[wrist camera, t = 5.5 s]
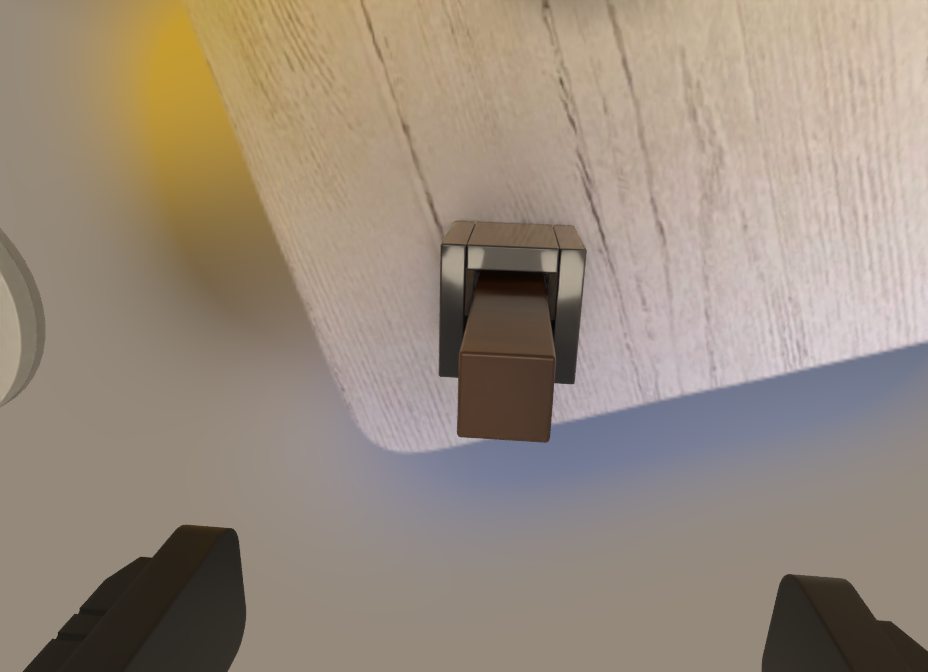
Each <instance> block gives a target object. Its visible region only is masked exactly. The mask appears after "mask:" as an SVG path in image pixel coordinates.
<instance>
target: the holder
mask: <svg viewBox="0 0 928 672" xmlns="http://www.w3.org/2000/svg"><path fill="white" fill-rule="evenodd" d="M585 262H586V249H585V246H584V244H583V242H582V240H581V238H580V236H579V234H578V232H577V230H576V228H575V226H570V225H544V224H518V223H493V222H476V223H475V222H468V221H455V222H454V223H453V225H452V227H451V228H450V230H449V232H448V233H447V235H446V237H445V238H444V240H443V242H442V243H441V252H440V321H439V376H440V377H456V378H458V376H459V352H460V348H461V345H462V341H463V337H464V333H465V329H466V325H467V321H468V317H469V313H470V309H471V305H472V301H473V290H474V270H486V271H508V272H530V273H550V275H549V288H548V308H549V315H550V322H551V328H552V335H553V342H554V349H555V355H556V367H555V379H554V383H559V384H574V383H575V373H576V362H577V351H578V340H579V329H580V318H581V307H582V296H583V285H584V273H585Z"/></svg>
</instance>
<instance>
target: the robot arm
mask: <svg viewBox="0 0 928 672" xmlns="http://www.w3.org/2000/svg"><path fill="white" fill-rule="evenodd" d="M241 567H242V566H241V557H240V549H239V540H238V536H237V533H236V531H235V530H234V529H232V528H220V527H208V526H195V525H182V526H180V527H179V528H177V529H176V530H175V531H174V533H173V534H172V535H171V536H170V538H169V539H168V540H167V541H166V542H165V544H164V545H163V546H162V547H161V548H160V549H159V550H158V552H157V553H156V554H155V555H154V556H153V558H149V557H140V558H138V559H136V560H135V561H133V562H132V563H130V564H129V565H127V566H126V567H124V568H122V569H121V570H119V571H118V572H117V573H115V574H113V575H112V576H110V577H109V578H107V579H106V580H105V581H104V582H103V583H102V584H101V585H100V586H99V587H98V588H97V590H96V591H95V592H94V593H93V594H92V595H91V596H90V597H89V599H88V600H87V601H86V602H85V603H84V604H83V605H82V606H81V607H80V611H79V613H78V614H74V615H73V616H72V617H71V618H70V620H69V621H68V622H67V623H66V624H65V625H64V626H63V627H62V628H61V630H60V631H59V632H58V636H57V638H56V639H52V640H51V641H50V642H49V643H48V644H47V645H46V646H45V647H44V648H43V650H42V651H41V652H40V653H39V654H38V655H37V656H36V657H35V658H34V660H33V661H32V662H31V663H30V664H29V665H28V666H27V667H26V669H25V670H24V671H23V672H227V671H228V669H229V668H230V666H231V664H232V662H233V660H234V658H235V656H236V654H237V652H238V650H239V647H240V644H241V641H242V637H243V633H244V629H245V622H246V604H245V595H244V585H243V577H242V568H241ZM762 672H928V651H926V650H925V649H924V648H923V647H922V646H920V645H919V644H918V643H917V642H915V641H914V640H913V639H912V638H911V637H909V636H908V635H907V634H906V633H904V632H903V631H902V630H901V629H899V628H898V627H897V626H896V625H894V624H893V623H892V622H891V621H879V620H876V618H875V617H874V616H873V614H872V613H871V611H870V610H869V608H868V607H867V606H866V604H865V603H864V601H863V600H862V599H861V597H860V596H859V594H858V593H857V591H856V590H855V588H854V587H853V586H852V585H851V583H849V582H848V581H847V580H845V579H841V578H829V577H817V576H804V575H792V574H788V575H785V576H784V577H783V578H782V580H781V582H780V585H779V589H778V593H777V597H776V601H775V606H774V610H773V614H772V619H771V623H770V627H769V631H768V636H767V641H766V645H765V649H764V653H763V658H762Z"/></svg>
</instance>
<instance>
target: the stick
mask: <svg viewBox="0 0 928 672" xmlns="http://www.w3.org/2000/svg"><path fill="white" fill-rule="evenodd" d="M555 367H556V355H555V349H554V342H553V335H552V328H551V322H550V315H549V308H548V301H547V294H546V288H545V281H544V274H543V273H530V272H508V271H486V270H480V273H479V277H478V281H477V285H476V289H475V293H474V297H473V301H472V305H471V309H470V313H469V317H468V321H467V325H466V329H465V333H464V337H463V341H462V345H461V348H460V352H459V376H458V415H457V434H458V436H459V437H467V438H483V439H499V440H515V441H531V442H548V441H549V439H550V430H551V429H550V428H551V417H552V405H553V392H554V379H555Z"/></svg>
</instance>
